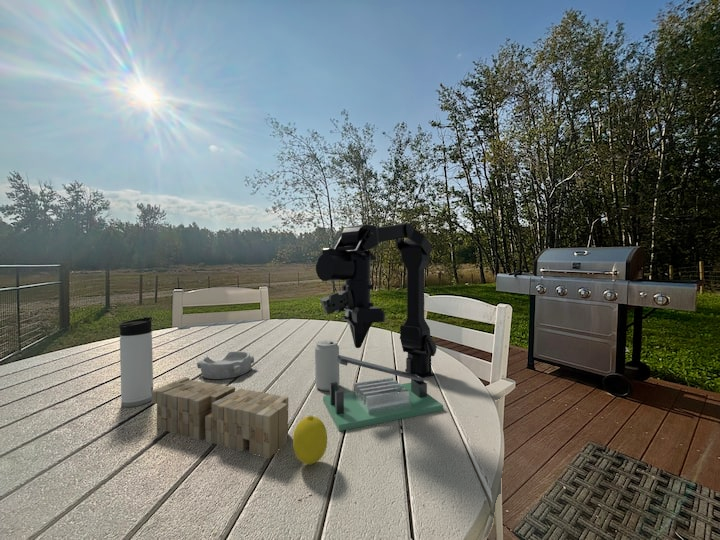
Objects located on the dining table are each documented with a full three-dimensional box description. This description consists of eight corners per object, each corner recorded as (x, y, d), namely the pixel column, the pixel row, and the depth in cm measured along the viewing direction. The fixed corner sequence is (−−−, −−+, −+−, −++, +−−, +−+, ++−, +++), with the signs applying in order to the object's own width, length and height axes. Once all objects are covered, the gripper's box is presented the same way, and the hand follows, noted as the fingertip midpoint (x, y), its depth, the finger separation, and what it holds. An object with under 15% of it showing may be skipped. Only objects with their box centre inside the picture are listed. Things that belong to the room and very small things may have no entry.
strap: (416, 380, 75) (417, 374, 75) (422, 384, 72) (424, 378, 72) (336, 359, 68) (338, 353, 68) (340, 363, 65) (342, 357, 66)
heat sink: (412, 385, 79) (412, 368, 79) (434, 401, 69) (433, 381, 69) (327, 399, 71) (327, 379, 71) (339, 419, 62) (339, 397, 62)
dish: (190, 377, 90) (190, 361, 90) (227, 363, 103) (227, 348, 103) (228, 384, 84) (228, 366, 84) (262, 368, 97) (261, 353, 97)
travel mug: (160, 397, 76) (159, 317, 76) (133, 409, 70) (131, 322, 70) (142, 394, 78) (141, 316, 78) (114, 405, 72) (112, 320, 72)
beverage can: (335, 392, 78) (335, 345, 78) (311, 391, 79) (311, 344, 79) (342, 383, 84) (341, 339, 84) (320, 381, 85) (319, 339, 85)
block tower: (294, 441, 58) (186, 410, 69) (295, 397, 58) (186, 374, 69) (267, 466, 51) (151, 428, 62) (268, 417, 51) (151, 386, 62)
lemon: (298, 480, 46) (298, 428, 46) (289, 459, 51) (288, 412, 51) (332, 468, 49) (332, 419, 49) (320, 450, 54) (320, 405, 54)
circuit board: (411, 386, 81) (411, 382, 81) (443, 410, 68) (443, 404, 68) (323, 401, 73) (323, 396, 73) (338, 431, 60) (338, 425, 60)
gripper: (315, 279, 77) (315, 341, 77) (333, 282, 59) (333, 362, 59) (358, 278, 80) (357, 338, 80) (386, 281, 62) (386, 357, 63)
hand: (357, 347), depth 70 cm, fingers closed
